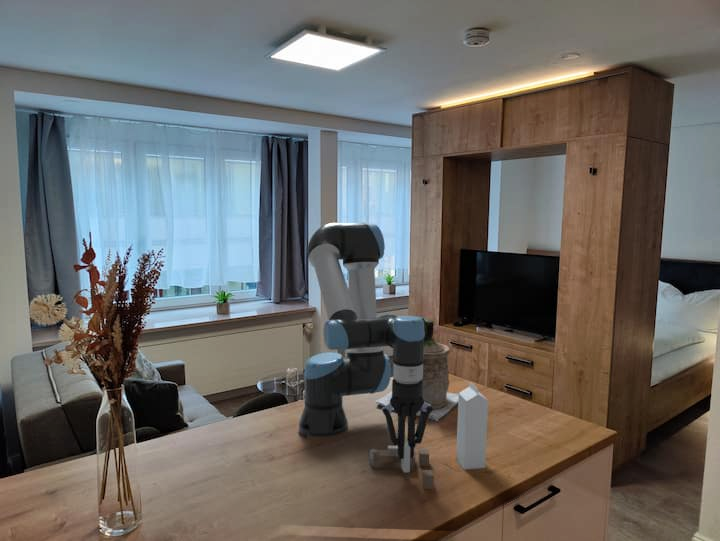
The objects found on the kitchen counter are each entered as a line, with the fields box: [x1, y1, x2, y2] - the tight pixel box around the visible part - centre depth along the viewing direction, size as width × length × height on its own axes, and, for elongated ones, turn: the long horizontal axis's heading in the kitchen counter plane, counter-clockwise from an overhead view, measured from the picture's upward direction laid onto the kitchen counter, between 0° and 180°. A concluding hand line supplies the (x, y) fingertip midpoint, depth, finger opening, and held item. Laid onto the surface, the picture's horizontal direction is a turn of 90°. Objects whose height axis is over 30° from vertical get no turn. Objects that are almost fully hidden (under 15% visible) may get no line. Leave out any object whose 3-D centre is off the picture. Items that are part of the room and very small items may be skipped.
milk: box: [455, 381, 489, 470], centre depth 130 cm, size 6×6×22 cm
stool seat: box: [387, 445, 435, 490], centre depth 123 cm, size 17×15×5 cm
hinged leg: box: [369, 448, 416, 472], centre depth 126 cm, size 12×3×4 cm, turn 84°
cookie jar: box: [375, 316, 459, 422], centre depth 171 cm, size 25×25×32 cm
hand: (405, 469), depth 122 cm, fingers closed
